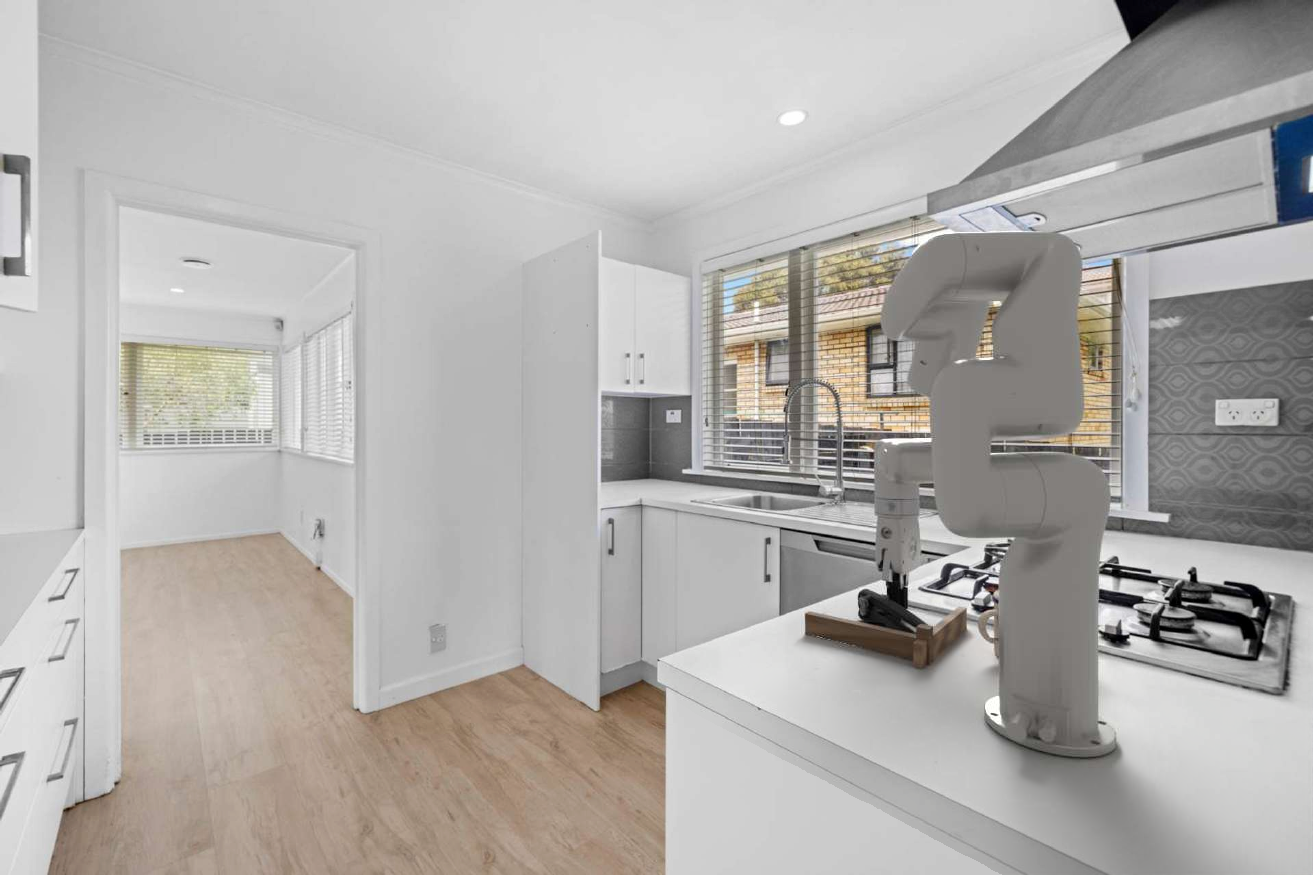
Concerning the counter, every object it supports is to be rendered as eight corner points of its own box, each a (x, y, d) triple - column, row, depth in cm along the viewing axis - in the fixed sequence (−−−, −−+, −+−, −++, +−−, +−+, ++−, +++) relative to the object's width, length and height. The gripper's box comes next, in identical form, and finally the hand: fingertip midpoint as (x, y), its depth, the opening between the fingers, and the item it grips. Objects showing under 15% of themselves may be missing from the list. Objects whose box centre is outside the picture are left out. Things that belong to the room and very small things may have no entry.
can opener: (847, 617, 109) (847, 586, 109) (881, 613, 111) (881, 583, 110) (907, 653, 92) (907, 616, 92) (947, 648, 93) (947, 612, 93)
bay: (924, 669, 85) (924, 633, 85) (798, 637, 99) (798, 606, 99) (968, 628, 102) (968, 598, 101) (855, 606, 115) (855, 579, 115)
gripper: (902, 514, 100) (902, 624, 100) (932, 504, 111) (933, 603, 111) (858, 510, 105) (859, 614, 105) (891, 501, 116) (892, 595, 116)
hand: (897, 608), depth 108 cm, fingers closed
